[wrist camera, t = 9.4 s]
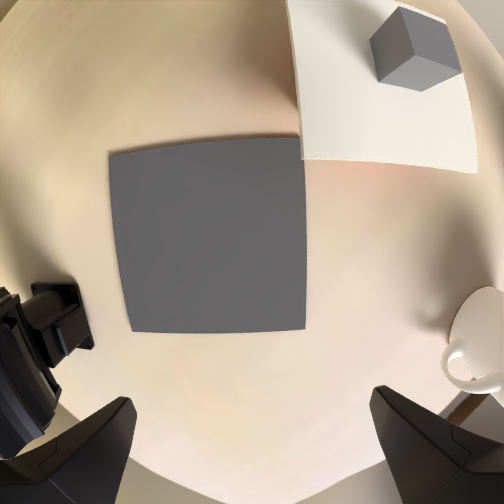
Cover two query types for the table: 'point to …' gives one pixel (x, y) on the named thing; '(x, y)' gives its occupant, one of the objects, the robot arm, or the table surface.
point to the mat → (212, 236)
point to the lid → (379, 85)
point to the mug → (479, 343)
